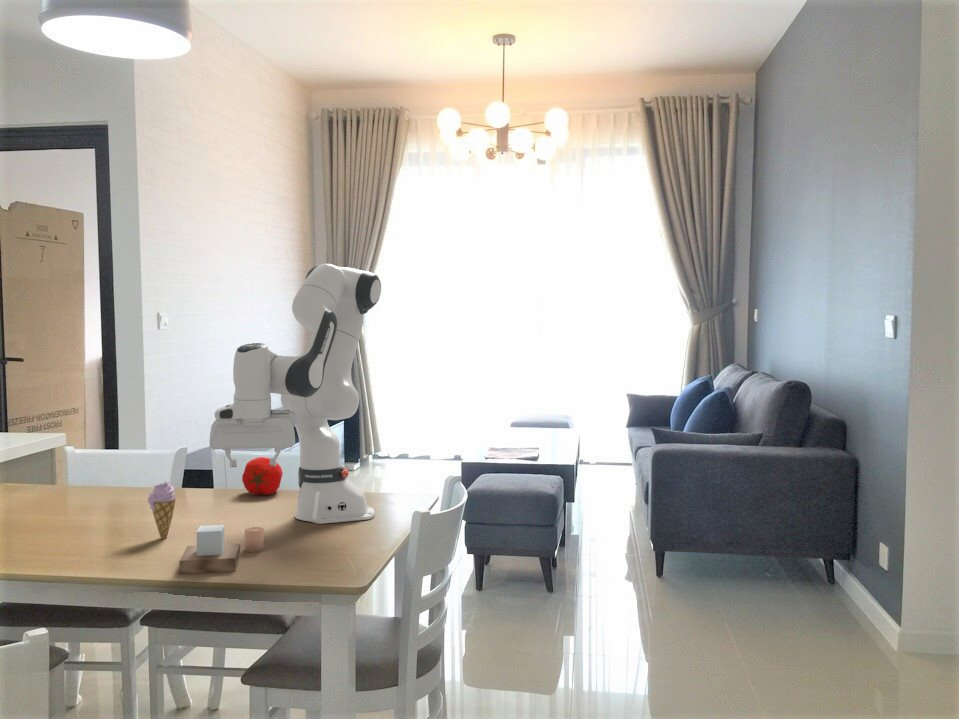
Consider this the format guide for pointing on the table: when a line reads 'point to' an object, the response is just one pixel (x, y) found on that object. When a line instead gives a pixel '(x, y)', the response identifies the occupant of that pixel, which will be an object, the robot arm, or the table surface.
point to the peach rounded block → (254, 539)
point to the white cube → (210, 540)
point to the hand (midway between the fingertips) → (253, 466)
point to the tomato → (261, 476)
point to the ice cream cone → (162, 506)
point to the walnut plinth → (210, 560)
